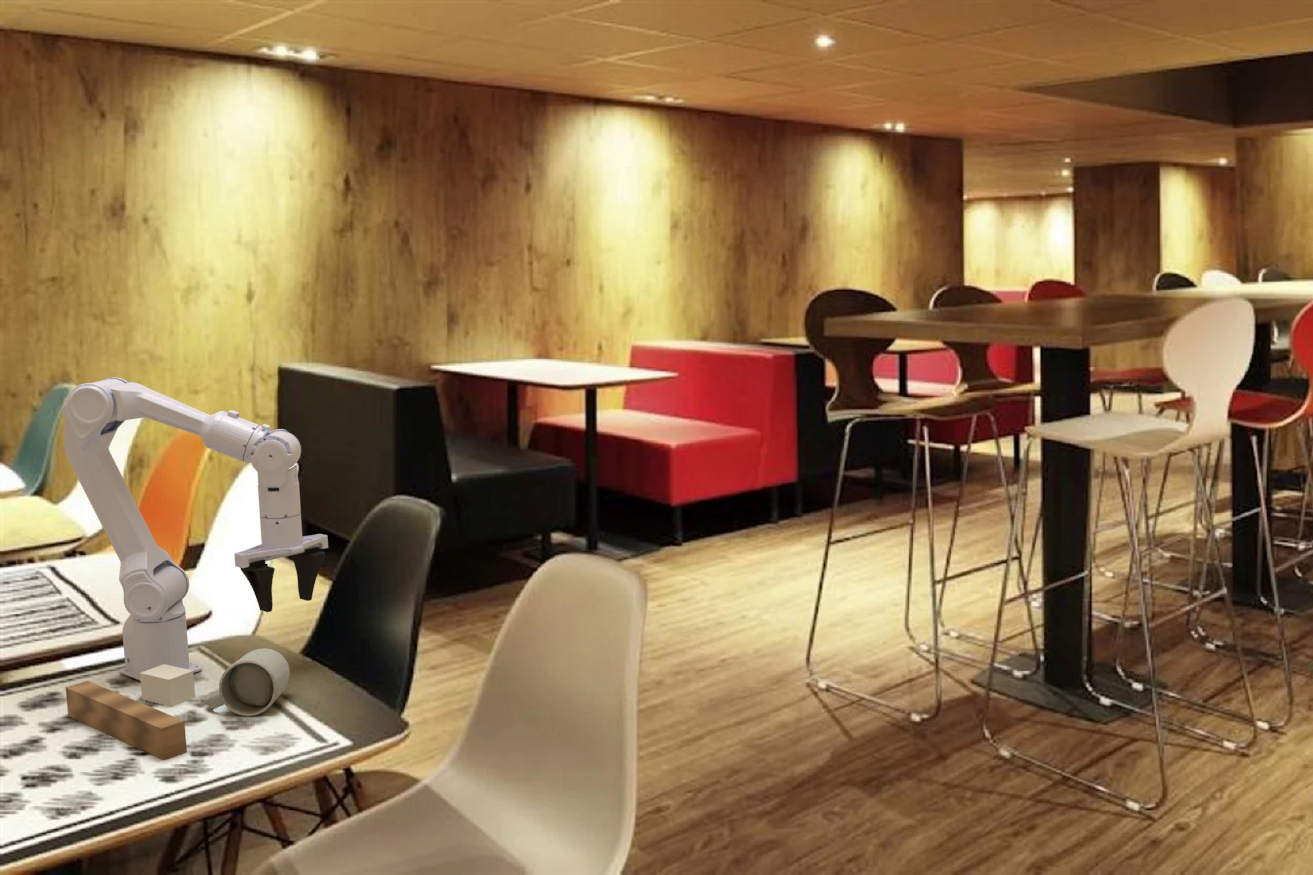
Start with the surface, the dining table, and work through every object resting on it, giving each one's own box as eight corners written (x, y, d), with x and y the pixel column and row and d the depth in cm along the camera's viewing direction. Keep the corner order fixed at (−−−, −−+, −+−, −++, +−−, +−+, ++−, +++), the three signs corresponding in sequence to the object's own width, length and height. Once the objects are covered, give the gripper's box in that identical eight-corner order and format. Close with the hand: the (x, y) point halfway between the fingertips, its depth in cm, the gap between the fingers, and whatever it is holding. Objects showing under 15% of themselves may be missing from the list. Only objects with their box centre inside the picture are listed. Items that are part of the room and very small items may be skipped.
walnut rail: (68, 715, 157) (65, 687, 156) (90, 709, 159) (87, 680, 158) (164, 760, 142) (161, 728, 142) (186, 751, 145) (184, 720, 144)
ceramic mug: (294, 693, 164) (290, 640, 163) (278, 715, 156) (273, 660, 155) (218, 696, 164) (213, 644, 162) (197, 719, 155) (192, 663, 154)
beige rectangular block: (141, 700, 162) (139, 672, 162) (166, 691, 166) (164, 664, 165) (171, 707, 160) (168, 679, 159) (195, 698, 163) (193, 670, 162)
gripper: (252, 527, 162) (258, 621, 164) (338, 509, 173) (343, 597, 175) (223, 521, 166) (230, 613, 168) (309, 503, 178) (314, 590, 180)
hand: (286, 604), depth 172 cm, fingers open, 6 cm apart
